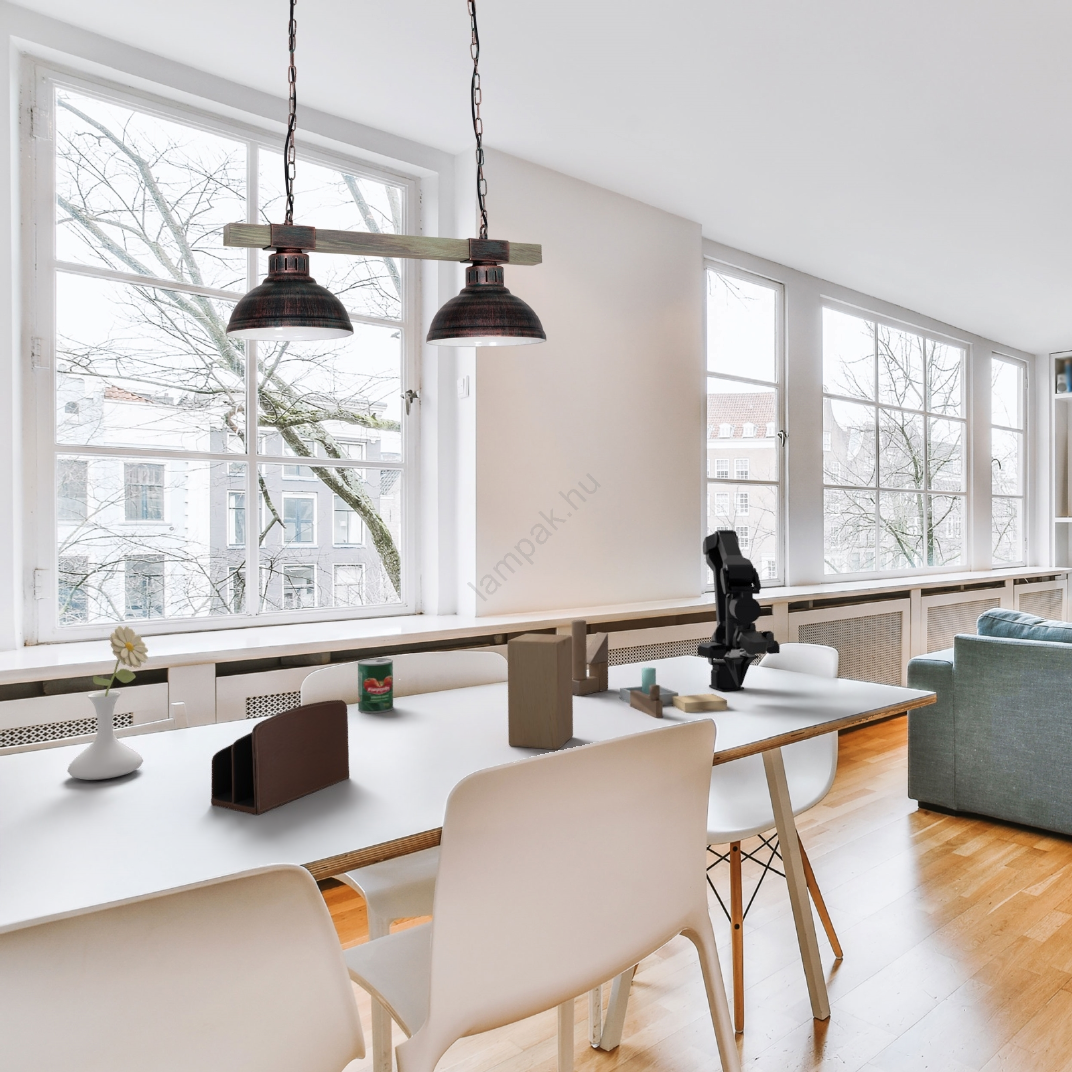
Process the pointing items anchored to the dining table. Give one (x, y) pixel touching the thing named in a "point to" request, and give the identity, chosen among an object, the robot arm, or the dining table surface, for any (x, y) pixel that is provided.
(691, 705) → the board
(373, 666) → the canned tomato
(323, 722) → the letter holder
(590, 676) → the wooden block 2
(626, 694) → the tray
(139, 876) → the dining table surface
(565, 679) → the wooden block
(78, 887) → the dining table surface
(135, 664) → the flower in vase
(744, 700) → the dining table surface
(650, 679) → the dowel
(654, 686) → the rail
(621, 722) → the dining table surface
